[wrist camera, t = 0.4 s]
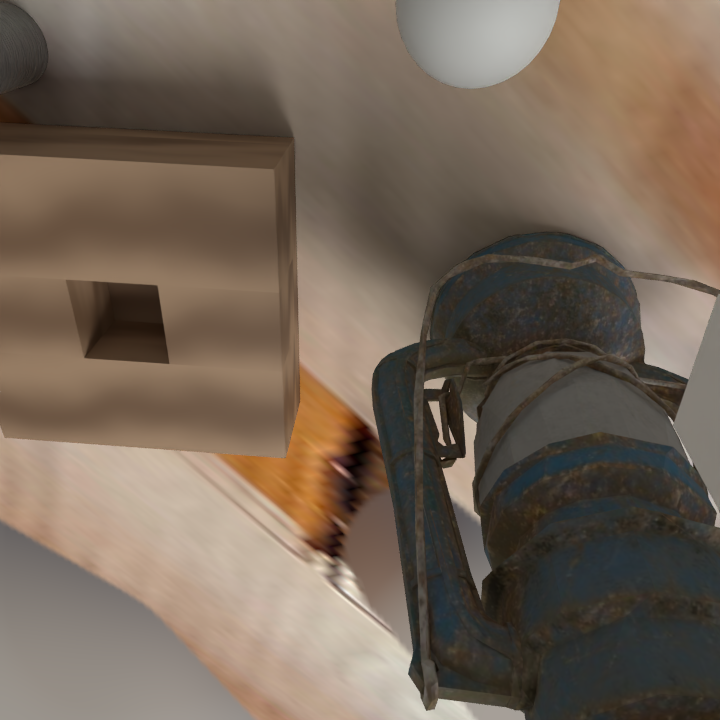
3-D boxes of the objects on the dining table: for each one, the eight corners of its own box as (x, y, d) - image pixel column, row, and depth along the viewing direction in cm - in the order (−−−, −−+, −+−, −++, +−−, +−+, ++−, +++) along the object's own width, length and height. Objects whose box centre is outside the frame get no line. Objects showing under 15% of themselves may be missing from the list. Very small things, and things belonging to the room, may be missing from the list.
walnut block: (-24, 121, 36) (-95, 149, 31) (294, 137, 35) (274, 169, 30) (49, 383, 46) (4, 437, 41) (300, 401, 45) (285, 458, 40)
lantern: (367, 388, 44) (304, 974, 19) (397, 183, 36) (358, 716, 11) (648, 426, 44) (957, 1061, 19) (738, 229, 36) (1465, 864, 11)
